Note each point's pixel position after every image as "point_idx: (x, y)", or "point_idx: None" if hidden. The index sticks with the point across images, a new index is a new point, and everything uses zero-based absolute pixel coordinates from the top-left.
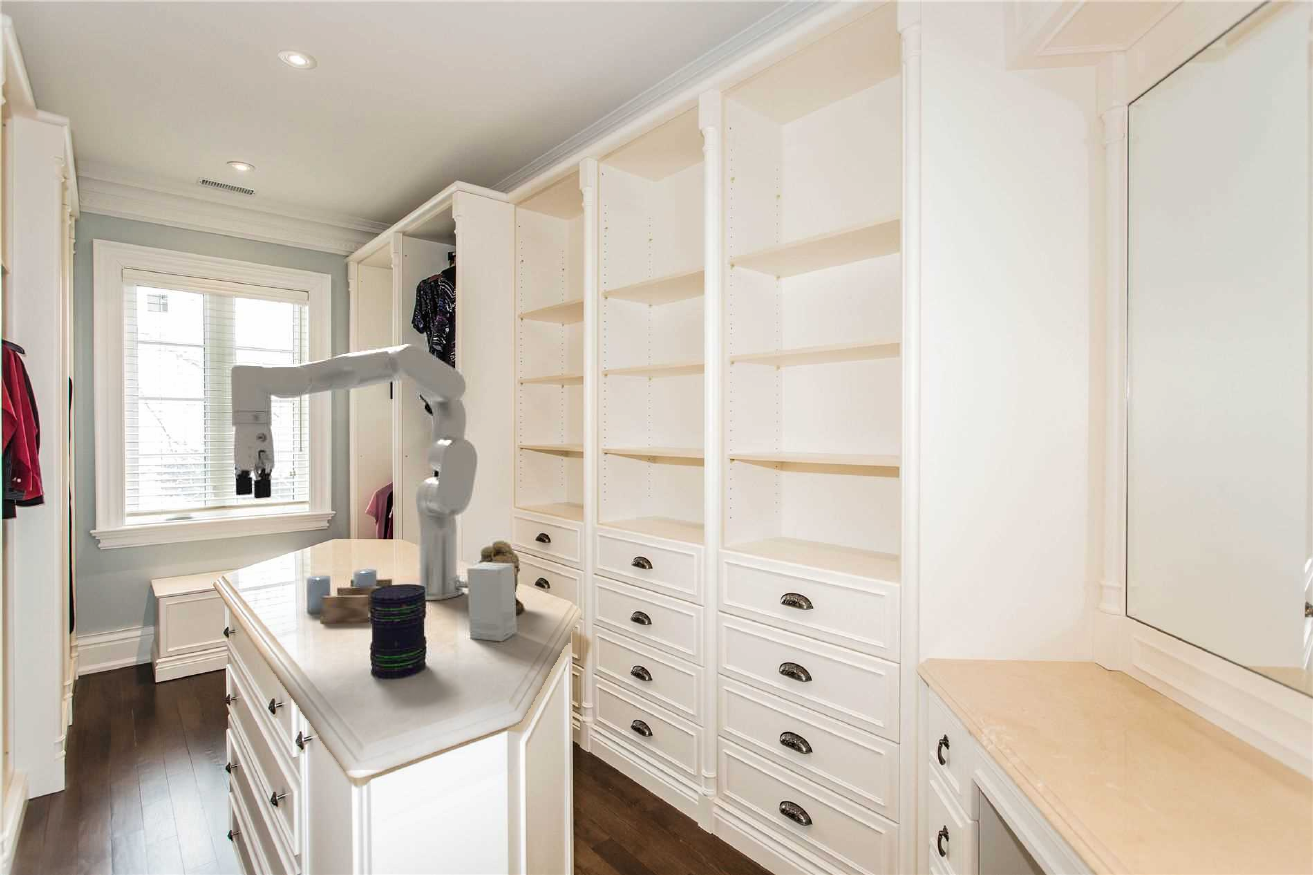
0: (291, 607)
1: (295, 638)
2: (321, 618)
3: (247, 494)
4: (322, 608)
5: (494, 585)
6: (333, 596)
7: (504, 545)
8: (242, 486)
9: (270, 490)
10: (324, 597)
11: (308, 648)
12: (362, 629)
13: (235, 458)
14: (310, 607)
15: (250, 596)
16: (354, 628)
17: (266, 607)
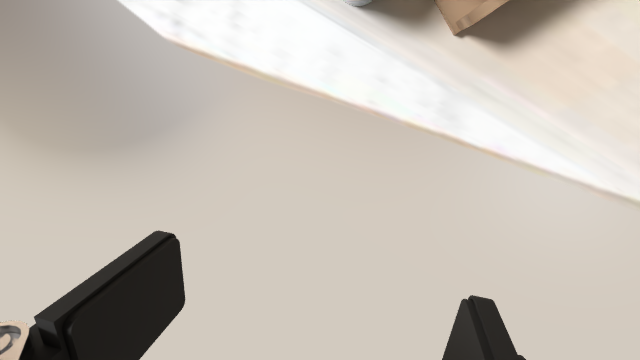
0: (287, 6)
1: (496, 121)
2: (457, 32)
3: (178, 256)
4: (465, 28)
5: None
6: (497, 1)
7: None
8: (145, 324)
9: (510, 342)
10: (477, 20)
11: (576, 142)
12: (597, 4)
13: None
14: (363, 2)
15: (140, 14)
16: (569, 11)
17: (246, 39)
